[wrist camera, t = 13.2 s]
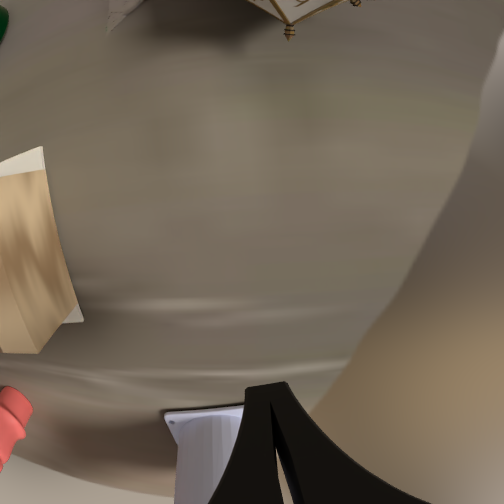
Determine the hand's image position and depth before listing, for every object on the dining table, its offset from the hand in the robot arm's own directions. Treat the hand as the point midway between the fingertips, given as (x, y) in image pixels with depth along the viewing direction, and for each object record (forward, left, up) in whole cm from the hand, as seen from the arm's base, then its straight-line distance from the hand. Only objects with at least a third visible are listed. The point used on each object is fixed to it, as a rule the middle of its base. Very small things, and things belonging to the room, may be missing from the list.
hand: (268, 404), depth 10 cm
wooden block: (+5, +13, -10) cm, 17 cm away
